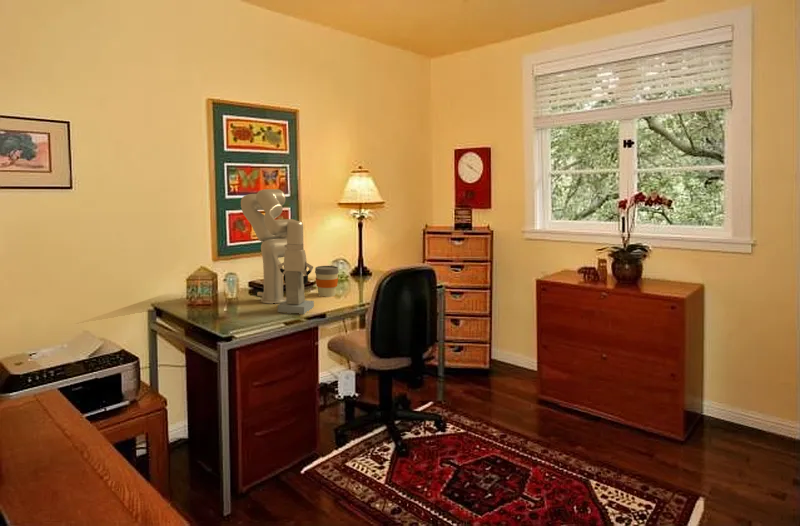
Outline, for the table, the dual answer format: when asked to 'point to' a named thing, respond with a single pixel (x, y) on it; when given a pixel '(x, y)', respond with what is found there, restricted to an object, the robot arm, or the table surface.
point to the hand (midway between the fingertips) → (295, 283)
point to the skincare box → (294, 287)
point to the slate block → (296, 307)
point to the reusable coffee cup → (326, 280)
